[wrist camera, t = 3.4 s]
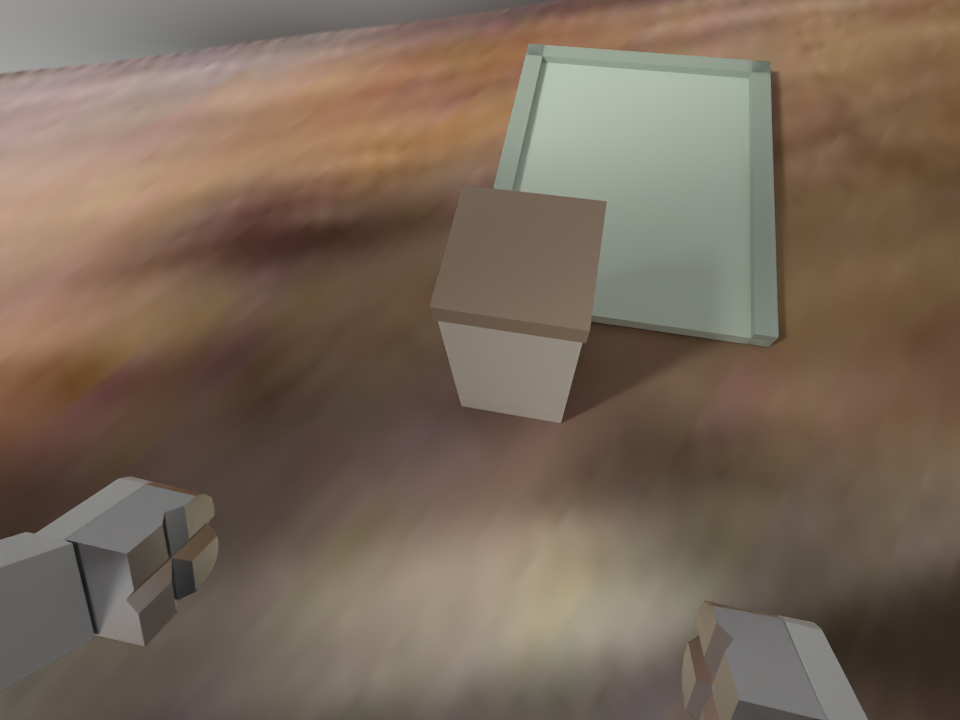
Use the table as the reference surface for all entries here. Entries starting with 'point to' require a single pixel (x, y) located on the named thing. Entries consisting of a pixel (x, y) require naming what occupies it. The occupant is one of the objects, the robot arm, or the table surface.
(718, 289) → the tray
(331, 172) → the table surface
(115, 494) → the robot arm
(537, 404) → the canister
